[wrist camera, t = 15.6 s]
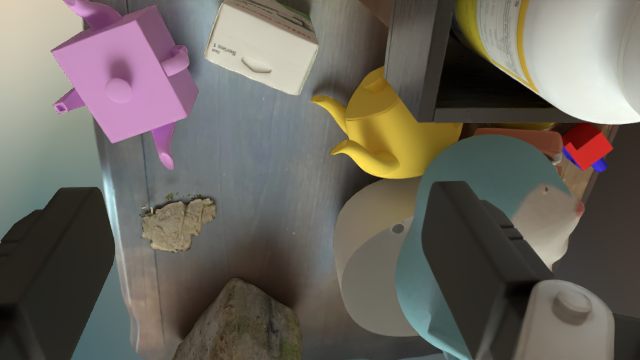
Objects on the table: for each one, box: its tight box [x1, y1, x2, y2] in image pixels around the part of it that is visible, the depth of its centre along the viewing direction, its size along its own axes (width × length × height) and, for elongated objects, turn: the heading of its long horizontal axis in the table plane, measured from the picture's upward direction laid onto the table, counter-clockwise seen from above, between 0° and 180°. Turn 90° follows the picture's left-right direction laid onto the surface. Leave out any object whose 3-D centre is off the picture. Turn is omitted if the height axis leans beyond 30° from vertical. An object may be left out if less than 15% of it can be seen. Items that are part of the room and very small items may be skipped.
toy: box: [395, 134, 585, 360], centre depth 38 cm, size 24×14×20 cm
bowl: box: [333, 175, 422, 336], centre depth 55 cm, size 20×19×12 cm
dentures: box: [473, 128, 563, 176], centre depth 47 cm, size 9×7×8 cm
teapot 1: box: [51, 0, 198, 170], centre depth 41 cm, size 18×13×10 cm
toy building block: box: [551, 122, 613, 172], centre depth 55 cm, size 4×4×8 cm
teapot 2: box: [311, 66, 463, 179], centre depth 44 cm, size 14×13×10 cm
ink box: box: [204, 0, 319, 95], centre depth 40 cm, size 9×5×12 cm, turn 66°
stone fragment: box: [139, 193, 217, 253], centre depth 56 cm, size 9×11×2 cm
